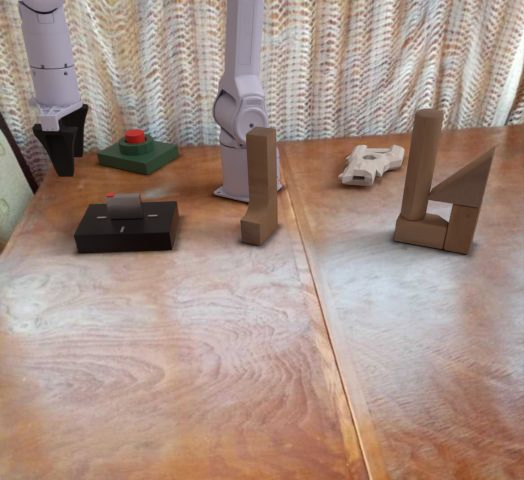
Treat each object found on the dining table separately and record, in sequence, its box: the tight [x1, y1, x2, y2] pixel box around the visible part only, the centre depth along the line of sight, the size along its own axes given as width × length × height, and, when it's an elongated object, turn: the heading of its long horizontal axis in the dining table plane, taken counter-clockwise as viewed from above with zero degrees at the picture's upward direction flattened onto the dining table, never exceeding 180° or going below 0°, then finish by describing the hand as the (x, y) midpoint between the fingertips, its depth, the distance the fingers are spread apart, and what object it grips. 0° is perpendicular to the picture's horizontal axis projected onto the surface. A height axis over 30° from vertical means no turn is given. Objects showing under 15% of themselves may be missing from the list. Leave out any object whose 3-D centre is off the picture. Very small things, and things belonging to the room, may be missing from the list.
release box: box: [96, 133, 180, 176], centre depth 105 cm, size 12×10×4 cm
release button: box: [124, 128, 145, 144], centre depth 103 cm, size 4×4×2 cm
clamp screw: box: [104, 192, 144, 219], centre depth 80 cm, size 5×1×4 cm, turn 90°
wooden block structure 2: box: [393, 107, 497, 255], centre depth 73 cm, size 4×11×18 cm, turn 66°
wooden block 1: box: [239, 126, 279, 246], centre depth 78 cm, size 7×3×15 cm, turn 155°
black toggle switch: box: [73, 200, 180, 254], centre depth 83 cm, size 14×10×3 cm
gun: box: [338, 144, 406, 187], centre depth 97 cm, size 18×3×10 cm
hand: (71, 165), depth 80 cm, fingers open, 7 cm apart
